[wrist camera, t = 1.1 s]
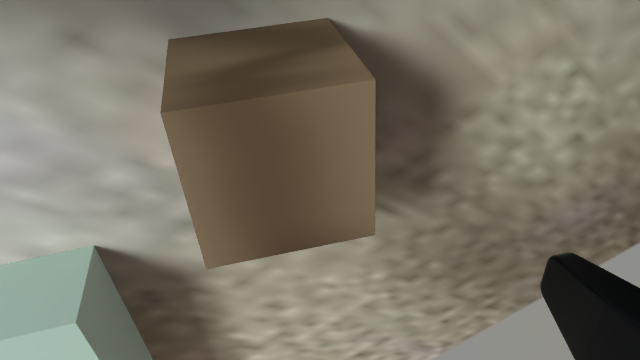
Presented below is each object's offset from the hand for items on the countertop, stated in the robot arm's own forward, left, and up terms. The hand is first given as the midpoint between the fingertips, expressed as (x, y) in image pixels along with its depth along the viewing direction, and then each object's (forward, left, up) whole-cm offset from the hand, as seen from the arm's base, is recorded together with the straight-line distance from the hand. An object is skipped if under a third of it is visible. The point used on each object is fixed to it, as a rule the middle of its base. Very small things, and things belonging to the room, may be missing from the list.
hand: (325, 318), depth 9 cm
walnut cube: (0, 0, -10) cm, 10 cm away
